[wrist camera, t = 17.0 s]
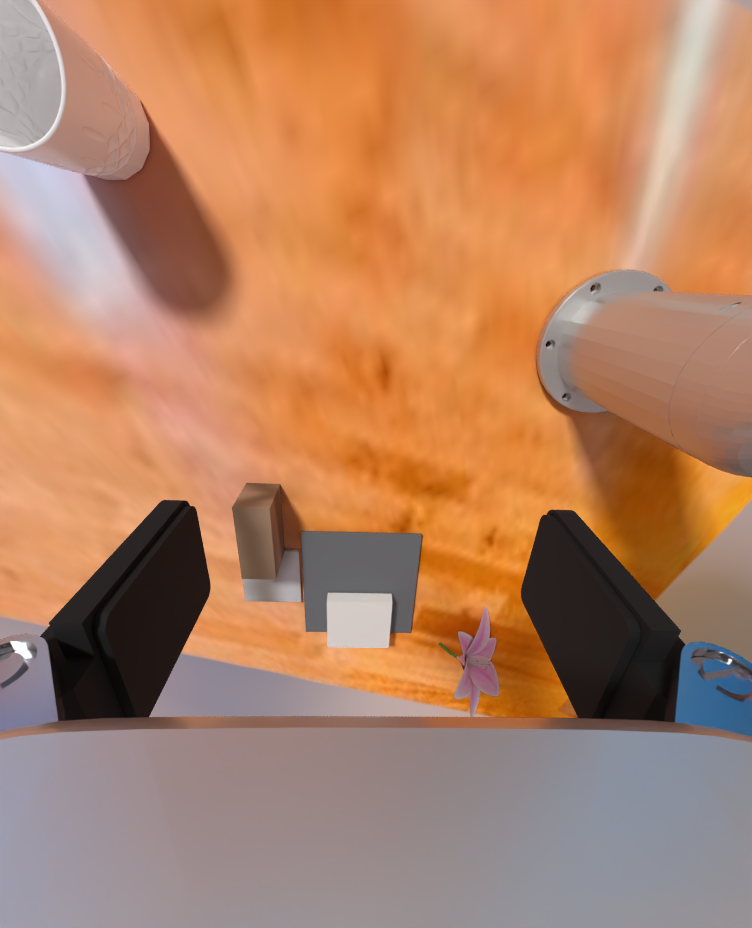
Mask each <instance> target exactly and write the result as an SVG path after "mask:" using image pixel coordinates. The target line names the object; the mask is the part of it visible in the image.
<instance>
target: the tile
mask: <svg viewBox="0 0 752 928" xmlns="http://www.w3.org/2000/svg"><path fill="white" fill-rule="evenodd" d="M391 614H392V594H382V593H328V596H327V645H328V647H349V648H389V638H390V626H391Z"/></svg>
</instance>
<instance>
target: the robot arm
mask: <svg viewBox="0 0 752 928" xmlns="http://www.w3.org/2000/svg"><path fill="white" fill-rule="evenodd" d="M591 286H593V288H592V290H591V291H590V288H591ZM547 341H549V344H548V345H547V346H546V343H547ZM536 363H537V372H538V375H539V378H540V381H541V383H542V385H543V386H544V388H545V390H546V391H547V393H548V394H549V395H550V396H551V397H552V398H553V399H554V400H556V401H557V402H559V403H560V404H561V405H563V406H565V407H567V408H569V409H571V410H575V411H579V412H583V413H599V412H606V411H610V412H611V413H613V414H615V415H617V416H619V417H621V418H622V419H624V420H626V421H628V422H630V423H632V424H633V425H635V426H637V427H639V428H641V429H642V430H644V431H646V432H648V433H650V434H652V435H653V436H655V437H657V438H659V439H661V440H663V441H664V442H666V443H668V444H670V445H672V446H673V447H675V448H677V449H679V450H681V451H683V452H684V453H686V454H688V455H690V456H692V457H694V458H696V459H698V460H700V461H702V462H703V463H705V464H707V465H709V466H712V467H714V468H716V469H718V470H721V471H724V472H727V473H730V474H734V475H738V476H745V477H751V478H752V296H749V295H726V294H704V293H682V292H672V291H671V290H670V288H669V287H668V286H667V284H665V283H664V282H663V281H662V280H660V279H659V278H658V277H656V276H654V275H651V274H649V273H647V272H643V271H637V270H616V271H610V272H605V273H602V274H599V275H597V276H594V277H591V278H589V279H588V280H586V281H584V282H582V283H581V284H579V285H577V286H576V287H575V288H574V289H572V290H571V291H570V292H569V293H567V294H566V295H565V296H564V297H563V298H562V300H561V301H560V302H559V303H558V304H557V305H556V306H555V308H554V309H553V311H552V312H551V314H550V315H549V317H548V318H547V320H546V322H545V324H544V327H543V329H542V331H541V334H540V337H539V341H538V345H537V354H536ZM563 394H564V396H563ZM562 396H563V397H562ZM209 593H210V579H209V574H208V569H207V563H206V558H205V553H204V548H203V542H202V537H201V532H200V527H199V521H198V516H197V511H196V509H195V507H193V506H190V505H189V503H188V502H187V501H178V500H163V501H161V502H160V503H159V504H158V505H157V506H156V507H155V508H154V510H153V511H152V512H151V513H150V514H149V515H148V516H147V517H146V518H145V519H144V520H143V521H142V523H141V524H140V525H139V526H138V527H137V528H136V529H135V530H134V531H133V532H132V533H131V534H130V536H129V537H128V538H127V539H126V540H125V541H124V542H123V543H122V544H121V545H120V546H119V547H118V549H117V550H116V551H115V552H114V553H113V554H112V555H111V556H110V557H109V558H108V559H107V560H106V562H105V563H104V564H103V565H102V566H101V567H100V568H99V569H98V570H97V571H96V572H95V573H94V575H93V576H92V577H91V578H90V579H89V580H88V581H87V582H86V583H85V584H84V585H83V586H82V588H81V589H80V590H79V591H78V592H77V593H76V594H75V595H74V596H73V597H72V598H71V600H70V601H69V602H68V603H67V604H66V605H65V606H64V607H63V608H62V609H61V610H60V611H59V613H58V614H57V615H56V616H55V617H54V618H53V619H52V620H51V621H50V622H49V624H50V626H49V627H48V628H47V629H46V630H45V632H44V633H43V634H42V635H41V636H38V635H32V634H21V635H14V636H10V637H7V638H3V639H0V928H752V664H751V663H750V662H748V661H747V660H745V659H744V658H743V657H741V656H739V655H737V654H735V653H733V652H731V651H730V650H727V649H725V648H723V647H719V646H717V645H714V644H710V643H705V642H691V643H689V644H687V645H685V644H684V643H683V641H682V640H681V639H680V638H679V637H678V635H679V634H680V632H681V630H680V629H679V628H678V627H677V626H676V625H675V624H674V622H673V621H672V620H671V619H670V618H669V617H668V616H667V615H666V614H665V612H664V611H663V610H662V609H661V608H660V607H659V606H658V604H657V603H656V602H655V601H654V600H653V599H652V598H651V597H650V596H649V594H648V593H647V592H646V591H645V590H644V589H643V588H642V587H641V585H640V584H639V583H638V582H637V581H636V580H635V579H634V578H633V576H632V575H631V574H630V573H629V572H628V571H627V570H626V569H625V567H624V566H623V565H622V564H621V563H620V562H619V561H618V560H617V559H616V557H615V556H614V555H613V554H612V553H611V552H610V551H609V550H608V548H607V547H606V546H605V545H604V544H603V543H602V542H601V541H600V539H599V538H598V537H597V536H596V535H595V534H594V533H593V532H592V530H591V529H590V528H589V527H588V526H587V525H586V524H585V523H584V521H583V520H582V519H581V518H580V517H579V516H578V515H577V514H576V513H575V512H574V511H572V510H550V511H549V512H548V513H547V515H543V516H542V517H541V519H540V523H539V526H538V530H537V534H536V537H535V541H534V544H533V548H532V552H531V555H530V559H529V563H528V566H527V570H526V574H525V577H524V581H523V584H522V588H521V598H522V601H523V604H524V606H525V608H526V610H527V612H528V614H529V616H530V618H531V620H532V623H533V625H534V627H535V629H536V631H537V633H538V635H539V637H540V639H541V641H542V643H543V645H544V647H545V650H546V652H547V654H548V656H549V658H550V660H551V662H552V664H553V666H554V668H555V670H556V672H557V674H558V677H559V679H560V681H561V683H562V685H563V687H564V689H565V691H566V693H567V695H568V697H569V699H570V701H571V704H572V706H573V708H574V710H575V712H576V714H577V716H578V718H513V717H346V716H345V717H344V716H340V717H338V716H329V717H328V716H323V717H322V716H300V717H299V716H290V717H289V716H287V717H285V716H280V717H278V716H277V717H275V716H273V717H271V716H270V717H269V716H268V717H267V716H266V717H265V716H256V717H255V716H254V717H149V716H150V714H151V712H152V710H153V708H154V706H155V704H156V702H157V699H158V697H159V696H160V693H161V692H162V689H163V688H164V686H165V684H166V681H167V680H168V678H169V675H170V673H171V671H172V669H173V667H174V665H175V663H176V661H177V659H178V657H179V655H180V653H181V651H182V649H183V647H184V645H185V643H186V641H187V639H188V637H189V635H190V633H191V631H192V629H193V627H194V625H195V623H196V621H197V619H198V617H199V615H200V613H201V611H202V609H203V607H204V605H205V603H206V601H207V599H208V597H209Z"/></svg>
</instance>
